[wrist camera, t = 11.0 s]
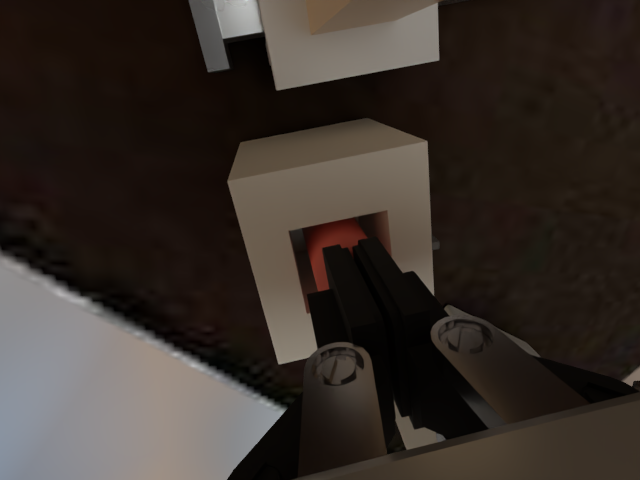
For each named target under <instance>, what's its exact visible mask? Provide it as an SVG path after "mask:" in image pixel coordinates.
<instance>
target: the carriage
mask: <svg viewBox="0 0 640 480" xmlns="http://www.w3.org/2000/svg"><path fill="white" fill-rule="evenodd" d="M440 1H443V0H258V3H259V8H260V13H261V18H262V23H263V28H264V33H265V38H266V44H265V45H266V50H267V55H268V59H269V64H270V65H271V68H272V73H273V78H274V83H275V88H276V90H283V89H288V88H293V87H299V86H304V85H309V84H315V83H320V82H326V81H331V80H336V79H342V78H347V77H352V76H358V75H363V74H368V73H374V72H379V71H384V70H390V69H395V68H401V67H406V66H411V65H417V64H422V63H427V62H433V61H438V60H439V34H438V2H440Z"/></svg>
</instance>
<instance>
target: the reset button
mask: <svg viewBox="0 0 640 480" xmlns="http://www.w3.org/2000/svg"><path fill="white" fill-rule="evenodd" d="M302 232H303V235H304V239H305V243H306V247H307V251H308V255H309V258H310V262H311V266H312V270H313V274H314V278H315V281H316V285H317V289H318V292H319V291H323V290H328V289H329V285H328V280H327V274H326V269H325V263H324V258H323V253H322V248H323V247H328V246H333V245H337V244H340V246H341V248H346V247H348V249H349V251H350V253H351V255H352V257H353V250H352V246H355V245H358V240H361V239H366V238H367V236H366V235H365V233H364V231H363V230H362V228H361V227H360V225H359V224H358V222H357V221H356V219H355V218H354V217H352V218H347V219H343V220H338V221H333V222H328V223H324V224H319V225H314V226H309V227H304V228H302ZM353 259H354V257H353Z"/></svg>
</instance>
